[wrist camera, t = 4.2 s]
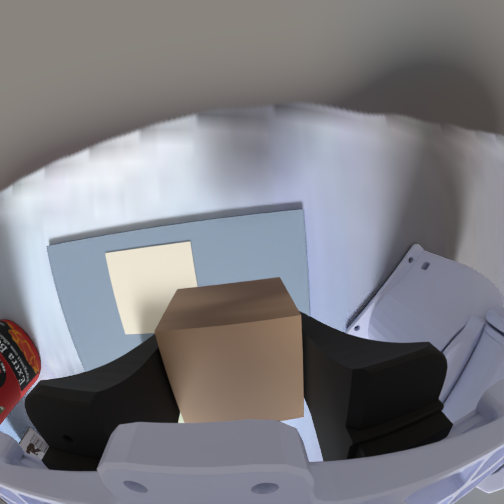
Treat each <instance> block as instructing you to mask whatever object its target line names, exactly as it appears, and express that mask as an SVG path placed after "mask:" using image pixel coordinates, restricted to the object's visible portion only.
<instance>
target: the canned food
mask: <svg viewBox="0 0 504 504" xmlns="http://www.w3.org/2000/svg"><path fill="white" fill-rule="evenodd" d="M40 370H41V363H40V358H39V355H38V352H37V350H36V348H35V346H34V344H33V343H32V341H31V339H30V338H29V337H28V335H27V334H26V333H25V332H24V331H23V330H22V329H21V328H20V327H19V326H18V325H17V324H15V323H14V322H12V321H10V320H0V424H1V423H2V422H3V421H4V419H5V418H6V417H7V415H8V414H9V413H10V412H11V410H12V409H13V408H14V407H15V405H16V404H17V403H18V402H19V401H20V399H21V398H22V397H23V396H24V395H25V393H26V392H27V391H28V390H29V389H30V387H31V386H32V385H33V384H34V383H35V382H36V380H37V379H38V377H39V374H40Z"/></svg>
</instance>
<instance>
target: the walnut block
mask: <svg viewBox="0 0 504 504" xmlns="http://www.w3.org/2000/svg"><path fill="white" fill-rule="evenodd" d="M154 332H155V336H156V339H157V343H158V346H159V350H160V353H161V356H162V360H163V363H164V366H165V369H166V372H167V375H168V378H169V381H170V384H171V387H172V390H173V393H174V396H175V399H176V401H177V404H178V407H179V410H180V412H181V415H182V418H183V420H184V423H204V422H222V421H235V420H245V419H260V420H278V421H283V420H289V419H295V418H300V417H304V391H303V349H302V323H301V314H300V312H299V310H298V308H297V307H296V305H295V303H294V301H293V300H292V298H291V296H290V294H289V292H288V291H287V289H286V287H285V285H284V284H283V282H282V280H281V278H280V277H275V278H267V279H260V280H252V281H244V282H236V283H227V284H219V285H210V286H201V287H192V288H183V289H177V290H176V292H175V294H174V296H173V298H172V299H171V301H170V303H169V305H168V307H167V308H166V310H165V312H164V314H163V316H162V318H161V320H160V321H159V323H158V325H157V327H156V329H155V331H154Z"/></svg>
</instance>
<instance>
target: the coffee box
mask: <svg viewBox="0 0 504 504" xmlns="http://www.w3.org/2000/svg"><path fill="white" fill-rule="evenodd" d="M19 445H20V446H21V447H22V449H23V450H24V452H25V453H28V454H30V455H33V456H35V457H38V458H40V459H42V458H43V456H44V455H45V453H46V451H47V449H48V448H49V446H48V444H47V443H46V442H45V440H44V439H43V438H42V436H40V435H39V434H38V433H37V432H36V431H35V430H33V429H32V428H31V427H30V428H29V429H28V431H27V432H26V434H25V435H24V436H23V438H22V439H21V441H20V442H19ZM0 504H8V503H7V502H6V501H4V500H3V499H2V498H1V497H0Z"/></svg>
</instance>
